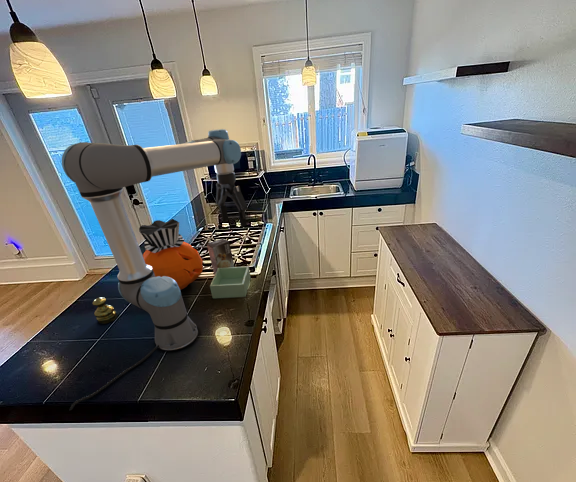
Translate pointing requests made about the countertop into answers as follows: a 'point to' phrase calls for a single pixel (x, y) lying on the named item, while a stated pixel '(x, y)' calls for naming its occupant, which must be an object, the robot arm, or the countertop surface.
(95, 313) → the brass knobbed piece
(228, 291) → the tote
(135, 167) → the robot arm
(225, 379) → the countertop surface
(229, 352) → the countertop surface
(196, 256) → the jack-o'-lantern
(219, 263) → the coffee box
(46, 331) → the countertop surface
